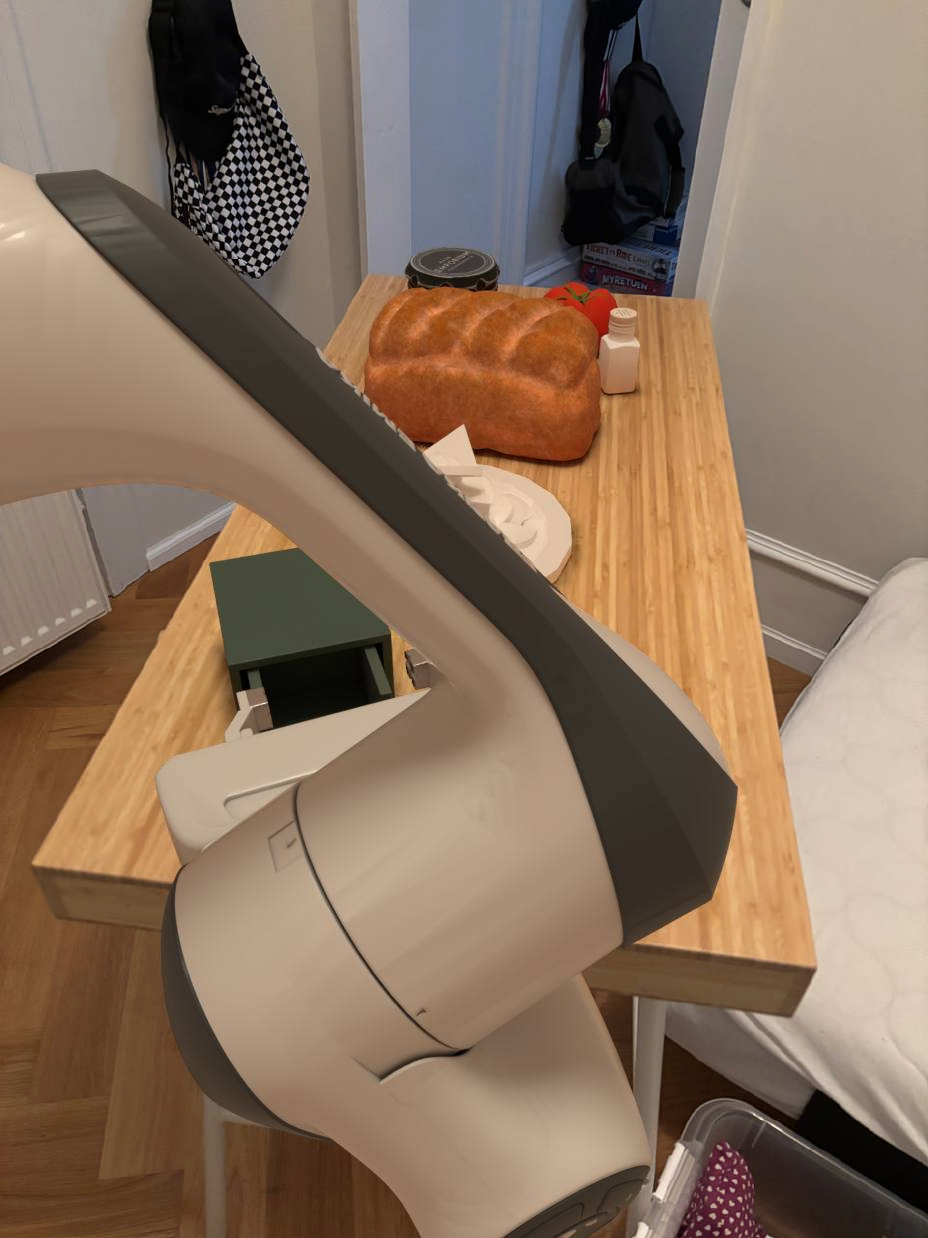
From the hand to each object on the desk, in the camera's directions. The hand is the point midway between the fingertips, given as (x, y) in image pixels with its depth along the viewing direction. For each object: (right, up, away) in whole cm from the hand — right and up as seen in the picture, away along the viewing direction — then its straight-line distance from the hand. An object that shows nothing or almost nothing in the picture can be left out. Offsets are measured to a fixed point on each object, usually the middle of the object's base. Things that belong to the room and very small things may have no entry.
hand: (336, 676), depth 52 cm
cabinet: (-5, -2, +23) cm, 24 cm away
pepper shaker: (+26, +32, +64) cm, 76 cm away
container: (+6, +42, +77) cm, 88 cm away
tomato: (+22, +40, +74) cm, 87 cm away
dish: (+5, +11, +39) cm, 41 cm away
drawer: (-2, -7, +15) cm, 17 cm away
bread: (+9, +25, +56) cm, 62 cm away
